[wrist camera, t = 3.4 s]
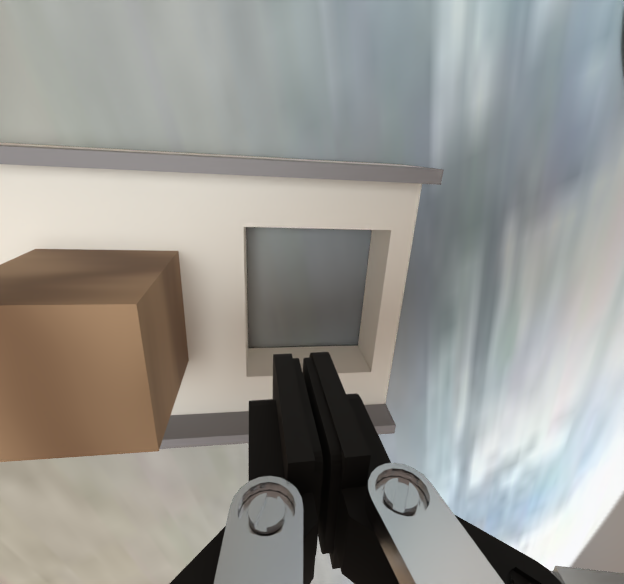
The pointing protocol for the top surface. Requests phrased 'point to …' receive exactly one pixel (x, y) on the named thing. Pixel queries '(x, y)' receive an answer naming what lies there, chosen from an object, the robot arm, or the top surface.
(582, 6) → the top surface
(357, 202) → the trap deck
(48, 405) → the walnut block
